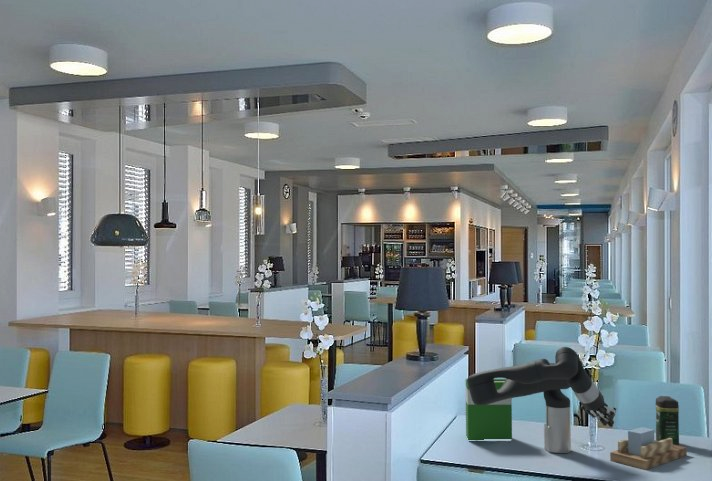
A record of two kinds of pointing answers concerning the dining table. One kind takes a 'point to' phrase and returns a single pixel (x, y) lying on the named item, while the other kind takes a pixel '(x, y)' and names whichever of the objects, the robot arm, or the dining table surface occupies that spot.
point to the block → (639, 439)
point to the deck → (648, 454)
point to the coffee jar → (667, 419)
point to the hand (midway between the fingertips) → (609, 424)
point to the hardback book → (488, 417)
